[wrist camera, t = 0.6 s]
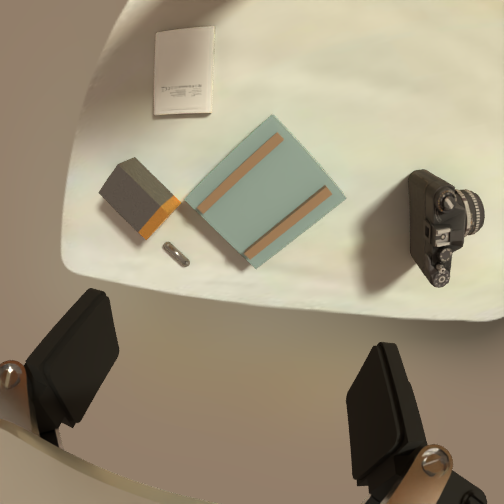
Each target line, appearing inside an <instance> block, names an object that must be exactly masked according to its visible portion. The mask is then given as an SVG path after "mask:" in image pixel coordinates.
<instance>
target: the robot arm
mask: <svg viewBox="0 0 504 504" xmlns="http://www.w3.org/2000/svg"><path fill="white" fill-rule="evenodd" d="M118 354H119V346H118V341H117V337H116V332H115V327H114V323H113V317H112V311H111V306H110V300H109V298H108V297H107V296H106V294H105V292H103V291H100V290H96V289H93V288H90V289H88V290H87V291H86V292H85V293H84V294H83V295H82V296H81V297H80V298H79V300H78V301H77V302H76V303H75V304H74V305H73V306H72V307H71V308H70V309H69V310H68V312H67V313H66V314H65V315H64V316H63V317H62V318H61V319H60V321H59V322H58V323H57V324H56V325H55V326H54V327H53V328H52V330H51V331H50V332H49V333H48V334H47V336H46V337H45V338H44V339H43V340H42V341H41V343H40V344H39V345H38V346H37V347H36V349H35V350H34V351H33V352H32V354H31V355H30V356H29V357H28V359H27V360H26V363H25V365H24V366H23V365H22V364H21V363H20V362H18V361H15V360H8V361H5V362H2V363H1V364H0V504H220V503H214V502H209V501H205V500H200V499H196V498H191V497H187V496H183V495H179V494H175V493H172V492H168V491H165V490H161V489H158V488H155V487H152V486H148V485H145V484H142V483H139V482H137V481H134V480H131V479H128V478H125V477H123V476H120V475H118V474H115V473H113V472H110V471H108V470H105V469H103V468H101V467H98V466H96V465H94V464H91V463H89V462H87V461H85V460H82V459H81V458H79V457H76V456H75V455H73V454H70V453H68V452H66V451H64V449H63V445H62V441H61V437H60V432H59V426H60V424H61V423H64V424H66V425H68V426H70V427H72V428H73V427H74V425H75V423H79V422H80V421H81V420H82V418H83V416H84V414H85V412H86V411H87V409H88V407H89V405H90V403H91V402H92V400H93V398H94V396H95V395H96V393H97V391H98V390H99V388H100V386H101V384H102V383H103V381H104V379H105V378H106V376H107V374H108V372H109V371H110V369H111V367H112V366H113V364H114V362H115V361H116V359H117V357H118ZM346 404H347V413H348V424H349V435H350V446H351V459H352V475H353V478H354V479H355V480H357V486H369V494H368V496H367V497H366V498H365V499H364V501H363V502H362V503H361V504H487V500H486V496H485V494H484V492H483V491H482V490H480V489H479V488H478V487H476V486H475V485H473V484H472V483H470V482H469V481H467V480H466V479H464V478H463V477H461V476H460V475H458V474H457V473H456V472H454V471H453V470H452V469H453V459H452V456H451V454H450V453H449V451H448V450H447V449H446V448H444V447H443V446H440V445H437V444H431V445H427V441H426V437H425V433H424V430H423V425H422V422H421V418H420V414H419V411H418V407H417V403H416V400H415V396H414V393H413V390H412V387H411V384H410V382H409V381H408V379H407V376H406V373H405V369H404V366H403V363H402V360H401V357H400V354H399V351H398V348H397V346H396V344H395V343H385V342H380V343H378V345H377V346H373V347H372V349H371V351H370V353H369V355H368V357H367V359H366V361H365V362H364V364H363V366H362V368H361V370H360V372H359V374H358V375H357V377H356V379H355V380H354V382H353V384H352V386H351V387H350V389H349V391H348V393H347V397H346Z"/></svg>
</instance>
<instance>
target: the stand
mask: <svg viewBox="0 0 504 504" xmlns="http://www.w3.org/2000/svg"><path fill="white" fill-rule="evenodd" d="M345 199H346V197H345V195H344V193H343V192H342V191H341V189H340V188H339V187H338V186H337V185H336V183H335V182H334V181H333V180H332V179H331V177H330V176H329V175H328V174H327V173H326V171H325V170H324V169H323V168H322V167H321V166H320V164H319V163H318V162H317V161H316V160H315V159H314V158H313V156H312V155H311V154H310V153H309V152H308V151H307V150H306V149H305V148H304V146H303V145H302V144H301V143H300V142H299V141H298V140H297V139H296V138H295V137H294V136H293V134H292V133H291V132H290V131H289V130H288V129H287V128H286V127H285V126H284V125H283V124H282V123H281V122H280V121H279V120H278V119H277V118H276V117H275V116H274V115H273V114H272V115H271V116H270V117H269V118H268V119H266V120H265V121H264V122H263V123H262V124H261V125H260V126H259V127H258V128H256V129H255V130H254V131H253V132H252V133H251V134H250V135H249V136H248V137H247V138H246V139H245V140H243V141H242V142H241V143H240V144H239V145H238V146H237V147H236V148H235V149H234V150H233V151H232V152H231V153H230V154H229V155H228V156H227V157H226V158H225V159H224V160H222V161H221V162H220V163H219V164H218V165H217V166H216V167H215V168H214V169H213V170H212V171H211V172H210V173H209V174H208V175H207V176H206V177H205V178H204V179H203V180H202V181H201V182H200V183H199V184H198V185H197V186H196V188H195V189H194V190H193V191H192V192H191V193H190V194H189V195H188V196H187V197H186V198H185V199H184V200H185V201H186V202H187V203H188V204H189V205H190V206H191V207H192V208H193V209H194V210H195V211H196V212H197V213H198V214H200V215H201V216H202V217H203V218H204V219H205V220H206V221H207V222H208V223H209V224H210V225H211V226H212V227H213V228H214V229H215V230H216V231H217V232H218V233H219V234H220V235H221V236H222V237H223V238H224V239H225V240H226V241H227V242H228V243H229V244H230V245H231V246H232V247H233V248H235V249H236V250H237V251H238V252H239V253H240V254H241V255H242V256H243V257H244V258H245V259H246V260H247V261H248V262H249V263H250V264H251V265H252V266H253V267H254V268H255V269H257V268H258V267H259V266H261V265H262V264H263V263H265V262H266V261H267V260H269V259H270V258H271V257H272V256H274V255H275V254H276V253H278V252H279V251H280V250H281V249H283V248H284V247H285V246H287V245H288V244H289V243H290V242H292V241H293V240H294V239H296V238H297V237H298V236H299V235H301V234H302V233H303V232H305V231H306V230H307V229H308V228H310V227H311V226H312V225H314V224H315V223H316V222H317V221H319V220H320V219H321V218H323V217H324V216H325V215H326V214H328V213H329V212H330V211H331V210H333V209H334V208H335V207H336V206H338V205H339V204H340V203H342V202H343V201H344V200H345Z"/></svg>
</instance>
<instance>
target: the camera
mask: <svg viewBox="0 0 504 504" xmlns="http://www.w3.org/2000/svg"><path fill="white" fill-rule="evenodd" d="M409 197H410V238H411V239H410V251H411V255H412V257H413V259H414V260H415V262H416V263H417V265H418V266H419V268H420V269H421V271H422V272H423V274H424V275H425V276H426V278H427V279H428V280H429V282H430V283H431V284H432V285H433V286H434V287H438V288H439V287H443V286H445V285H446V284H447V283H448V282H449V279H450V269H451V260H452V253H453V252H454V251H456V250H458V249H460V248H461V247H463V243H464V237H466V236H467V235H472V234H475V233H476V232H478V231H479V230H480V228H481V227H482V226H483V223H484V218H485V214H484V207H483V204H482V201H481V199H480V197H479V196H478V195H477V194H476V193H474V192H472V191H469V190H466V189H465V190H457V189H455V187H454V186H453V185H451V184H449V183H448V182H446V181H444V180H442V179H441V178H439V177H437V176H435V175H434V174H432V173H430V172H429V171H427V170H424V169H423V170H416V171H414V172H413V173H412V174H411V175H410V177H409Z"/></svg>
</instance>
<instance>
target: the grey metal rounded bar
mask: <svg viewBox="0 0 504 504" xmlns="http://www.w3.org/2000/svg"><path fill="white" fill-rule="evenodd" d="M164 247H165V249H166V250H167V251H169V252H170V253H171V254H172V255H173V256H174V257H175V258H176V259H177V260H178V261H179V262H180V263H181V264H182V265H184V266H186V267H187V266H189V264H190V261H189V260H188V259H187V258H186V257H185V256H184V255H183V254H182V253H181V252H180V251H179V250H177V249H176V248H175V247H174V246H173V245H172V244H171V243H170V242H166V243H165V244H164Z"/></svg>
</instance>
